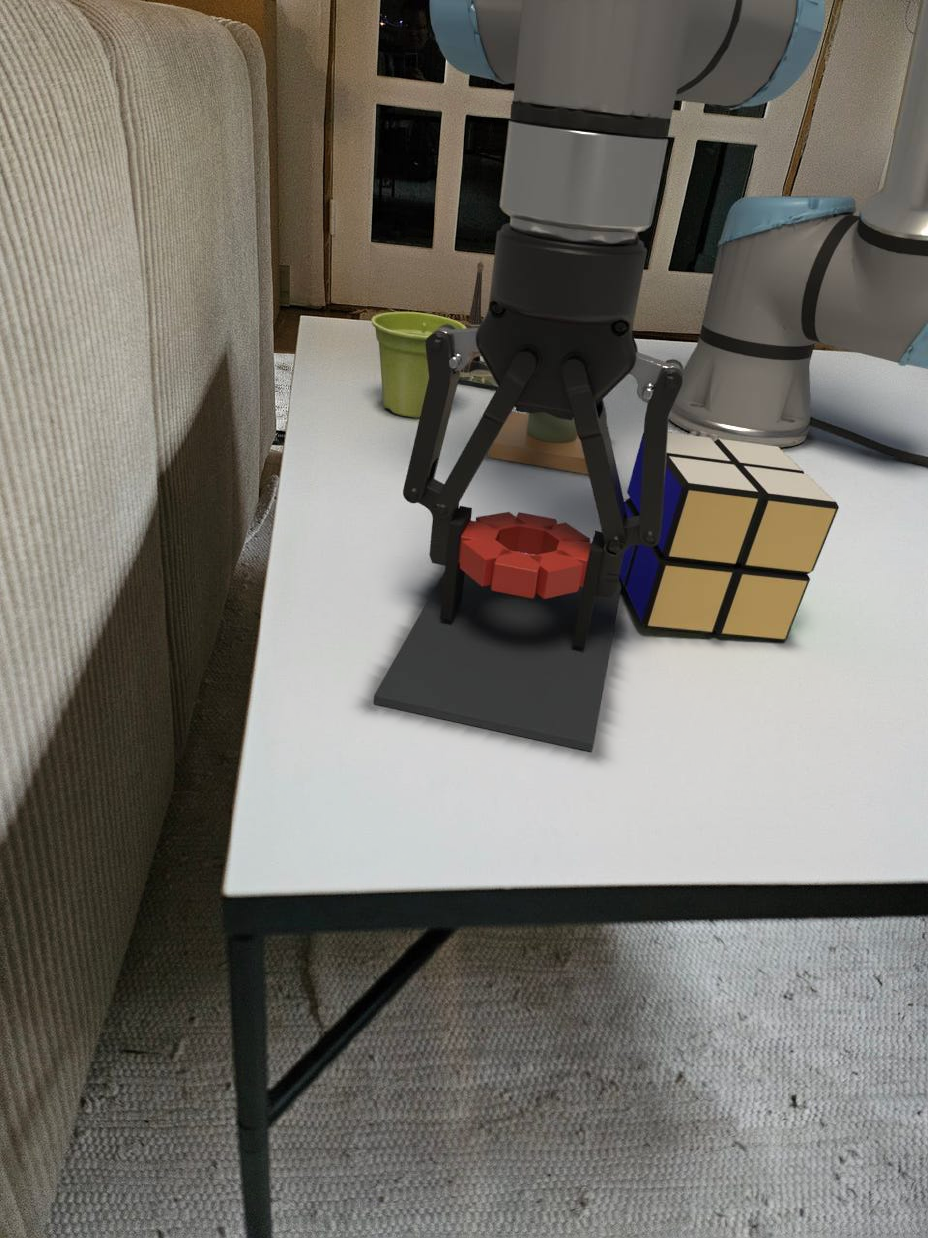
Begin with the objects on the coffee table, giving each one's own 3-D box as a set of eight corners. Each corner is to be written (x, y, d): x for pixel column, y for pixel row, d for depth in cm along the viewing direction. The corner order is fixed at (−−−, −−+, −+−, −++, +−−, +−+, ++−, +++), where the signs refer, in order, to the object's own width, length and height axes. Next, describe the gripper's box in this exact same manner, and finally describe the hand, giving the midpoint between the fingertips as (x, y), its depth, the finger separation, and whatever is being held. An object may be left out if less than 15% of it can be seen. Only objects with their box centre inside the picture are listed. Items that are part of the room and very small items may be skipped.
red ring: (592, 552, 57) (597, 526, 56) (578, 608, 51) (583, 580, 50) (475, 530, 58) (478, 504, 57) (447, 582, 52) (449, 554, 51)
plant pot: (462, 401, 98) (471, 318, 93) (453, 429, 89) (461, 340, 85) (376, 390, 98) (380, 307, 93) (359, 417, 90) (363, 327, 85)
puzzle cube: (607, 557, 66) (642, 426, 61) (736, 572, 68) (780, 445, 63) (641, 629, 58) (685, 484, 53) (787, 644, 59) (844, 504, 54)
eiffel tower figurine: (392, 373, 104) (399, 249, 97) (419, 353, 113) (427, 238, 106) (519, 395, 101) (536, 269, 94) (537, 373, 110) (553, 256, 103)
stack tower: (605, 441, 91) (630, 307, 84) (595, 476, 82) (622, 329, 76) (508, 425, 92) (524, 291, 86) (487, 457, 84) (504, 312, 77)
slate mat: (621, 582, 65) (623, 575, 64) (591, 752, 48) (593, 743, 47) (458, 551, 66) (459, 544, 66) (373, 704, 49) (373, 695, 49)
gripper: (779, 246, 47) (681, 626, 58) (397, 195, 50) (377, 566, 61) (790, 268, 40) (678, 690, 52) (351, 207, 43) (338, 619, 55)
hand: (515, 622), depth 56 cm, fingers closed on red ring, 7 cm apart
